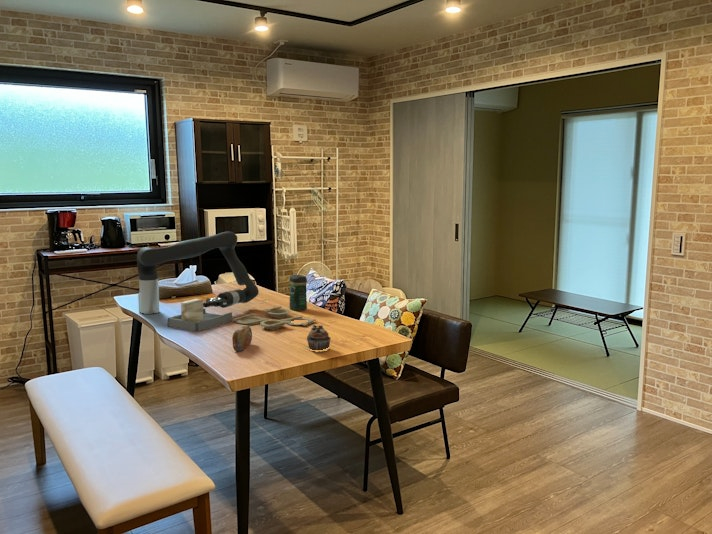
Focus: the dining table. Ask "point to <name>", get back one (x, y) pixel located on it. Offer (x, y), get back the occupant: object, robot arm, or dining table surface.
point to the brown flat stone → (242, 338)
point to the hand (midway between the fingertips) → (204, 305)
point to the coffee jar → (298, 292)
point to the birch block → (192, 310)
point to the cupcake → (318, 338)
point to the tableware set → (272, 324)
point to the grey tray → (207, 322)
